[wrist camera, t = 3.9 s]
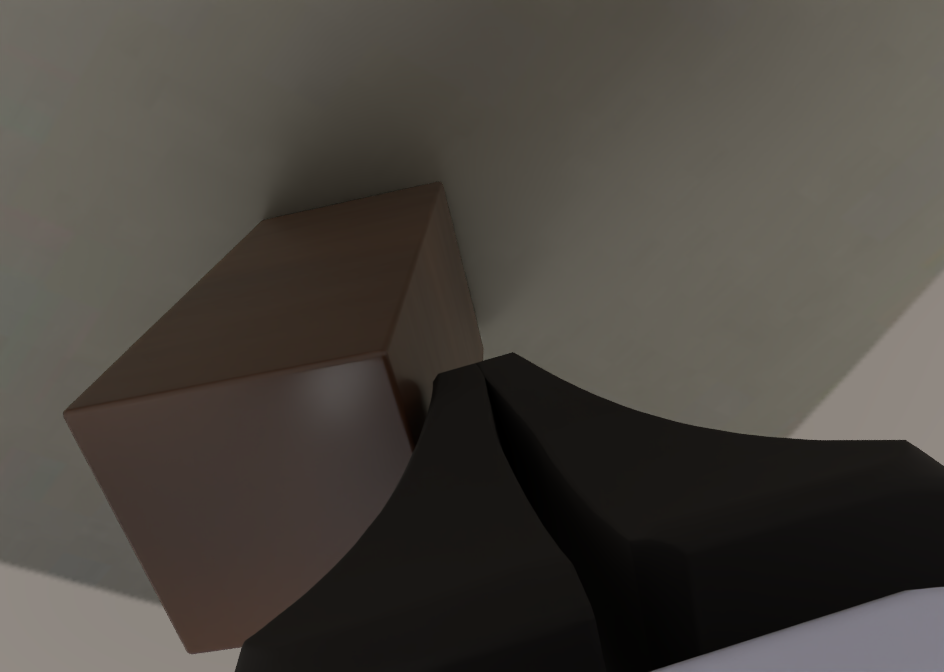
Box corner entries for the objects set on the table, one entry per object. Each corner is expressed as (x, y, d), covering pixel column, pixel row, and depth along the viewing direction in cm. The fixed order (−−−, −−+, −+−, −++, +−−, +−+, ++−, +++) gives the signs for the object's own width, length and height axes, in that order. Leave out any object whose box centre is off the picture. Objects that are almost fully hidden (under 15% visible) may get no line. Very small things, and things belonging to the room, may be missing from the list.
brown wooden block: (484, 350, 19) (467, 617, 11) (317, 381, 20) (186, 657, 12) (442, 180, 17) (385, 350, 9) (260, 219, 18) (58, 412, 10)
